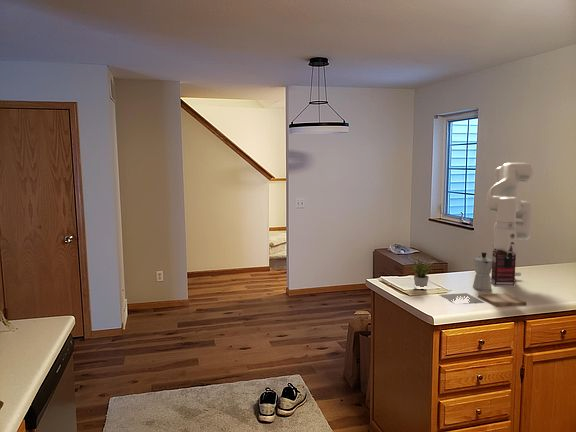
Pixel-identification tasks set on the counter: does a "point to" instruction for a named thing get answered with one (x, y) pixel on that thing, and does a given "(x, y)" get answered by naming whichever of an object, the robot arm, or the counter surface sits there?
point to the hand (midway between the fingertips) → (503, 265)
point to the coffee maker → (482, 273)
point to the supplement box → (502, 270)
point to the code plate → (454, 296)
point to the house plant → (421, 273)
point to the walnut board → (501, 299)
